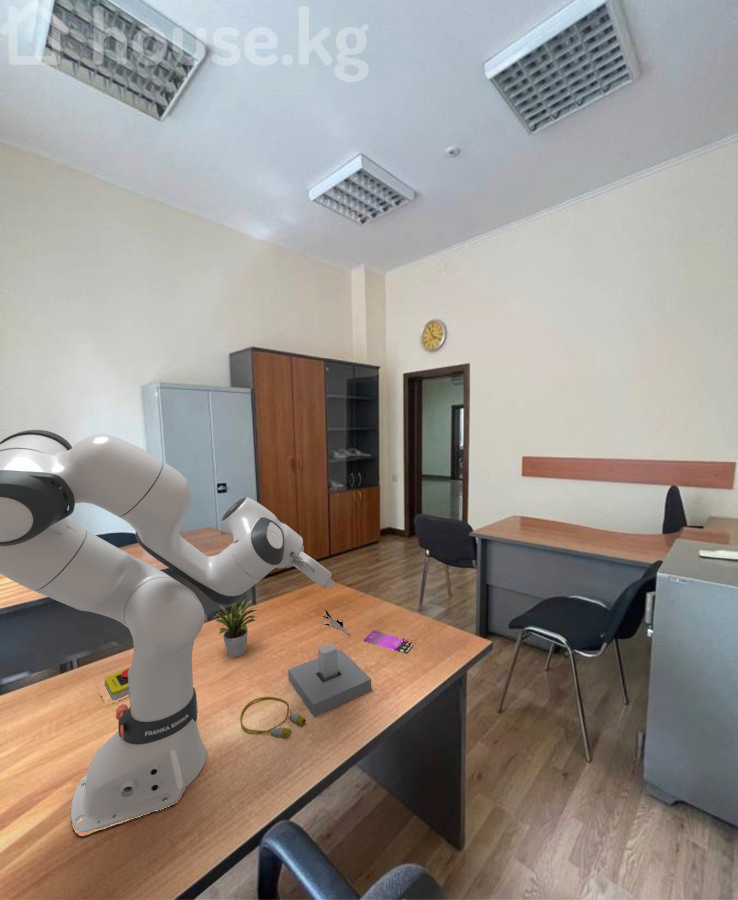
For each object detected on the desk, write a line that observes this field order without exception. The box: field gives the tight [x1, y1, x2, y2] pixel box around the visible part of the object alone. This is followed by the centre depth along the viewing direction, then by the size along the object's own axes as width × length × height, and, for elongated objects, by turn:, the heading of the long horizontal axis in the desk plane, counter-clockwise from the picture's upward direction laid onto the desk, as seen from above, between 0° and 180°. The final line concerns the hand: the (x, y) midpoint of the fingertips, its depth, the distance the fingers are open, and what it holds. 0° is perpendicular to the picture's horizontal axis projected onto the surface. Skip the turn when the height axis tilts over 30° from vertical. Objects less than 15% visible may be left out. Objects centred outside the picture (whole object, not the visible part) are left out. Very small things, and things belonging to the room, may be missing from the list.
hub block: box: [287, 649, 372, 718], centre depth 102 cm, size 16×16×3 cm
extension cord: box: [239, 696, 307, 739], centre depth 90 cm, size 12×16×2 cm
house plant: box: [214, 598, 260, 658], centre depth 116 cm, size 14×14×16 cm
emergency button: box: [104, 667, 130, 700], centre depth 104 cm, size 9×4×15 cm
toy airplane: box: [322, 609, 350, 636], centre depth 134 cm, size 8×21×2 cm, turn 33°
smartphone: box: [363, 629, 415, 655], centre depth 121 cm, size 7×15×1 cm, turn 60°
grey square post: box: [317, 642, 338, 683], centre depth 101 cm, size 4×3×10 cm
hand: (323, 578), depth 97 cm, fingers open, 8 cm apart
